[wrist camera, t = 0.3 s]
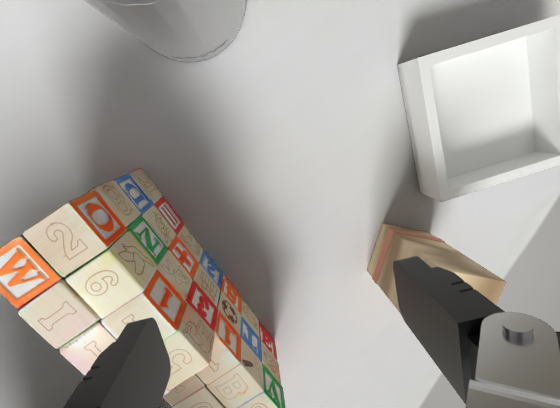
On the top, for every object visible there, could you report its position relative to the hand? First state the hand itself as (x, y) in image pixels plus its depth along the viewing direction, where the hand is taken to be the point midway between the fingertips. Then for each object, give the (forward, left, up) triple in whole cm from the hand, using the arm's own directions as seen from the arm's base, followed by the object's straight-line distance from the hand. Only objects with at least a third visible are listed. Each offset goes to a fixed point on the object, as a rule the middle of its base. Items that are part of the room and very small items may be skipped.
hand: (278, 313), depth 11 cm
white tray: (-1, +20, -20) cm, 28 cm away
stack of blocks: (+6, -9, -20) cm, 23 cm away
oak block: (+10, +11, -20) cm, 25 cm away
